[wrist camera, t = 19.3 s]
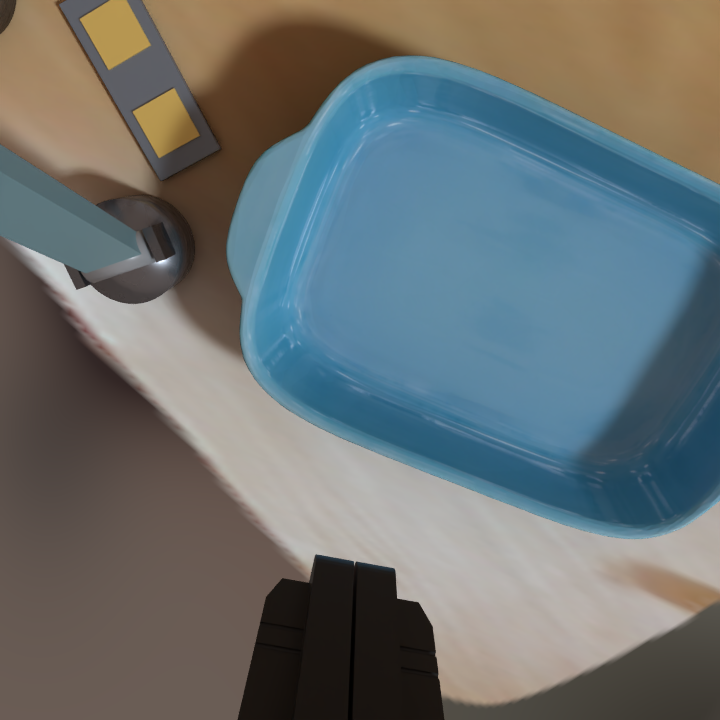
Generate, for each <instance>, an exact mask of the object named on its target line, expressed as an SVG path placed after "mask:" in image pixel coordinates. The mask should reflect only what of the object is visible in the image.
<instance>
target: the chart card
mask: <svg viewBox="0 0 720 720" xmlns="http://www.w3.org/2000/svg"><path fill="white" fill-rule="evenodd" d="M59 6H60V7H61V9H62V11H63V13H64V14H65V16H66V18H67V19H68V21H69V23H70V25H71V26H72V28H73V30H74V32H75V33H76V35H77V37H78V39H79V40H80V42H81V44H82V46H83V47H84V49H85V51H86V52H87V54H88V56H89V58H90V59H91V61H92V63H93V65H94V66H95V68H96V70H97V72H98V73H99V75H100V77H101V78H102V80H103V82H104V84H105V85H106V87H107V89H108V91H109V92H110V94H111V96H112V98H113V99H114V101H115V103H116V104H117V106H118V108H119V110H120V111H121V113H122V115H123V117H124V118H125V120H126V122H127V124H128V125H129V127H130V129H131V131H132V132H133V134H134V136H135V137H136V139H137V141H138V143H139V144H140V146H141V148H142V150H143V151H144V153H145V155H146V157H147V158H148V160H149V162H150V163H151V165H152V167H153V169H154V170H155V172H156V174H157V176H158V177H159V179H160V181H163V180H165V179H167V178H169V177H170V176H172V175H174V174H176V173H178V172H180V171H181V170H183V169H185V168H187V167H189V166H191V165H192V164H194V163H196V162H198V161H200V160H202V159H203V158H205V157H207V156H209V155H211V154H213V153H214V152H216V151H218V150H220V149H221V147H220V145H219V144H218V142H217V140H216V138H215V136H214V134H213V132H212V131H211V129H210V127H209V125H208V123H207V121H206V119H205V117H204V116H203V114H202V112H201V110H200V108H199V106H198V104H197V103H196V101H195V99H194V97H193V95H192V93H191V91H190V89H189V88H188V86H187V84H186V82H185V80H184V78H183V76H182V74H181V73H180V71H179V69H178V67H177V65H176V63H175V61H174V60H173V58H172V56H171V54H170V52H169V50H168V48H167V46H166V45H165V43H164V41H163V39H162V37H161V35H160V33H159V32H158V30H157V28H156V26H155V24H154V22H153V20H152V18H151V17H150V15H149V13H148V11H147V9H146V7H145V5H144V4H143V2H142V0H66V1H64V2H63V3H61V4H59Z"/></svg>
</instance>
